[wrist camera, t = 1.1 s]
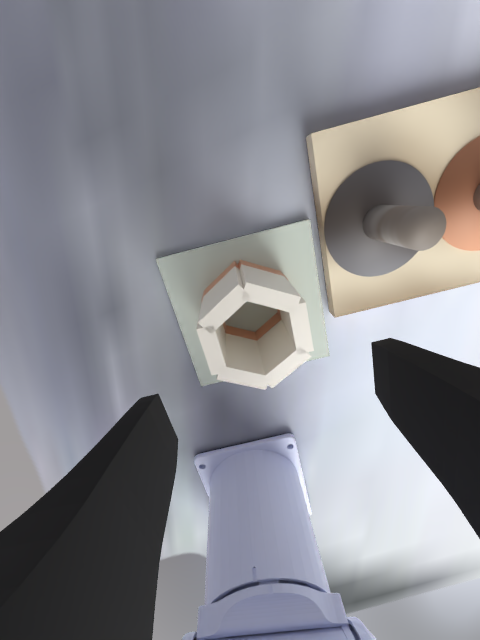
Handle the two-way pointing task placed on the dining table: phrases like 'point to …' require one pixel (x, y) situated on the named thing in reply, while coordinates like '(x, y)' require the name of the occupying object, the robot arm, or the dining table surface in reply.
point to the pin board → (399, 203)
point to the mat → (259, 248)
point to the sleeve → (247, 346)
